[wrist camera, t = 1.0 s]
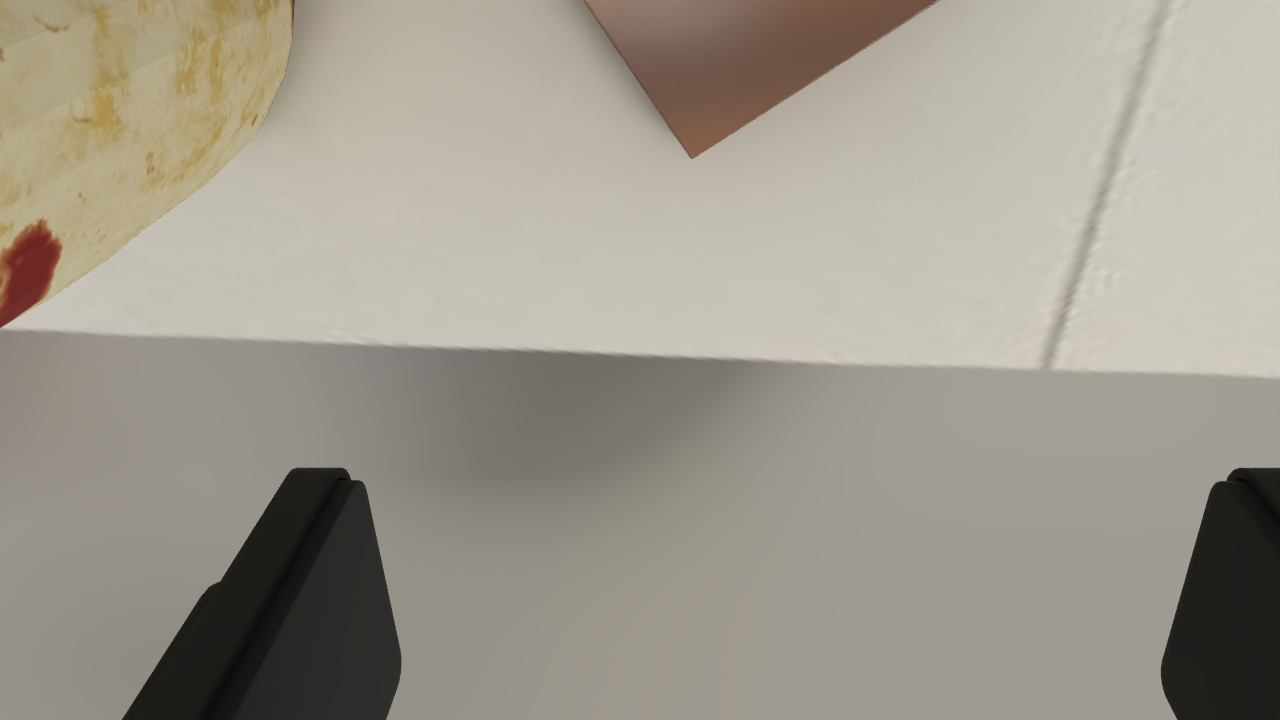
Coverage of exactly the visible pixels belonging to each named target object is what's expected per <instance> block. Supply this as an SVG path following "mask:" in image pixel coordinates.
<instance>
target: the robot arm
mask: <svg viewBox="0 0 1280 720" xmlns="http://www.w3.org/2000/svg"><path fill="white" fill-rule="evenodd" d="M400 674H401V652H400V647H399V642H398V637H397V632H396V627H395V623H394V618H393V613H392V608H391V604H390V599H389V594H388V589H387V585H386V580H385V575H384V571H383V566H382V561H381V557H380V552H379V547H378V542H377V537H376V533H375V528H374V523H373V519H372V514H371V509H370V504H369V500H368V495H367V491H366V487H365V485H364V483H363V482H362V481H359V480H355V481H354V480H351V478H350V475H349V473H348V472H347V470H345V469H343V468H295V469H292V470H291V471H290V472H289V473H288V475H287V476H286V478H285V479H284V481H283V483H282V484H281V486H280V487H279V489H278V491H277V492H276V494H275V495H274V497H273V498H272V500H271V502H270V503H269V505H268V506H267V508H266V510H265V511H264V513H263V515H262V516H261V518H260V519H259V521H258V522H257V524H256V526H255V527H254V529H253V530H252V532H251V534H250V535H249V537H248V538H247V540H246V541H245V543H244V545H243V546H242V548H241V549H240V551H239V553H238V554H237V556H236V557H235V559H234V561H233V562H232V564H231V565H230V567H229V568H228V570H227V572H226V573H225V575H224V577H223V578H222V580H221V581H220V582H218V583H216V584H214V585H212V586H210V587H209V588H208V589H207V590H206V591H205V593H204V594H203V595H202V596H201V598H200V599H199V600H198V602H197V604H196V605H195V607H194V608H193V610H192V611H191V613H190V615H189V616H188V618H187V619H186V621H185V622H184V624H183V625H182V627H181V629H180V630H179V632H178V633H177V635H176V636H175V638H174V639H173V641H172V643H171V644H170V646H169V647H168V649H167V650H166V652H165V653H164V655H163V657H162V658H161V660H160V661H159V663H158V664H157V666H156V668H155V669H154V671H153V672H152V674H151V675H150V677H149V679H148V680H147V682H146V683H145V685H144V686H143V688H142V690H141V691H140V692H139V694H138V696H137V697H136V699H135V700H134V702H133V704H132V705H131V707H130V708H129V710H128V711H127V713H126V714H125V716H124V717H123V719H122V720H386V718H387V715H388V713H389V710H390V707H391V704H392V701H393V698H394V696H395V693H396V690H397V687H398V684H399V680H400ZM1161 679H1162V686H1163V690H1164V693H1165V696H1166V698H1167V700H1168V702H1169V704H1170V706H1171V708H1172V710H1173V712H1174V714H1175V716H1176V718H1177V720H1280V468H1238V469H1235V470H1233V471H1232V472H1231V474H1230V475H1229V476H1228V478H1227V481H1224V482H1223V481H1221V482H1217V483H1215V485H1214V486H1213V487H1212V489H1211V491H1210V494H1209V498H1208V501H1207V504H1206V508H1205V511H1204V515H1203V518H1202V522H1201V525H1200V529H1199V533H1198V536H1197V539H1196V543H1195V547H1194V550H1193V554H1192V557H1191V561H1190V564H1189V568H1188V571H1187V575H1186V578H1185V582H1184V585H1183V589H1182V593H1181V596H1180V599H1179V603H1178V606H1177V610H1176V614H1175V617H1174V621H1173V624H1172V628H1171V631H1170V635H1169V638H1168V642H1167V646H1166V649H1165V653H1164V656H1163V660H1162V665H1161Z"/></svg>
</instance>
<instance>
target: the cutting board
mask: <svg viewBox="0 0 1280 720" xmlns="http://www.w3.org/2000/svg"><path fill="white" fill-rule="evenodd" d="M583 1H584V2H585V4H586V5H587V7H588V8H589V10H590V11H591V12H592V14H593V15H594V17H595V18H596V20H597V21H598V23H599V24H600V26H601V27H602V29H603V30H604V32H605V33H606V35H607V36H608V38H609V39H610V40H611V42H612V43H613V45H614V46H615V48H616V49H617V51H618V52H619V54H620V55H621V57H622V58H623V60H624V61H625V63H626V64H627V66H628V67H629V68H630V70H631V71H632V73H633V74H634V76H635V77H636V79H637V80H638V82H639V83H640V85H641V86H642V88H643V89H644V91H645V92H646V94H647V95H648V96H649V98H650V99H651V101H652V102H653V104H654V105H655V107H656V108H657V110H658V111H659V113H660V114H661V116H662V117H663V119H664V120H665V122H666V123H667V124H668V126H669V127H670V129H671V130H672V132H673V133H674V135H675V136H676V138H677V139H678V141H679V142H680V144H681V145H682V147H683V148H684V150H685V151H686V152H687V154H688V155H689V157H690V158H691V159H693V158H695V157H697V156H698V155H700V154H701V153H703V152H704V151H706V150H707V149H709V148H711V147H712V146H714V145H715V144H717V143H718V142H720V141H721V140H723V139H725V138H726V137H728V136H729V135H731V134H732V133H734V132H736V131H737V130H739V129H740V128H742V127H743V126H745V125H746V124H748V123H750V122H751V121H753V120H754V119H756V118H757V117H759V116H760V115H762V114H764V113H765V112H767V111H768V110H770V109H771V108H773V107H774V106H776V105H778V104H779V103H781V102H782V101H784V100H785V99H787V98H789V97H790V96H792V95H793V94H795V93H796V92H798V91H799V90H801V89H803V88H804V87H806V86H807V85H809V84H810V83H812V82H813V81H815V80H817V79H818V78H820V77H821V76H823V75H824V74H826V73H828V72H829V71H831V70H832V69H834V68H835V67H837V66H838V65H840V64H842V63H843V62H845V61H846V60H848V59H849V58H851V57H852V56H854V55H856V54H857V53H859V52H860V51H862V50H863V49H865V48H866V47H868V46H870V45H871V44H873V43H874V42H876V41H877V40H879V39H881V38H882V37H884V36H885V35H887V34H888V33H890V32H891V31H893V30H895V29H896V28H898V27H899V26H901V25H902V24H904V23H905V22H907V21H909V20H910V19H912V18H913V17H915V16H916V15H918V14H919V13H921V12H923V11H924V10H926V9H927V8H929V7H930V6H932V5H934V4H935V3H937V2H938V1H940V0H583Z"/></svg>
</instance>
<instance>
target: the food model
mask: <svg viewBox="0 0 1280 720" xmlns="http://www.w3.org/2000/svg"><path fill="white" fill-rule="evenodd" d="M293 20H294V0H0V328H1V327H3V326H4V325H6V324H8V323H9V322H11V321H12V320H14V319H16V318H17V317H19V316H21V315H23V314H24V313H26V312H28V311H29V310H31V309H33V308H34V307H36V306H38V305H40V304H41V303H43V302H45V301H46V300H48V299H50V298H51V297H53V296H54V295H56V294H57V293H59V292H60V291H62V290H63V289H65V288H66V287H68V286H69V285H71V284H72V283H74V282H75V281H77V280H78V279H80V278H81V277H83V276H84V275H86V274H87V273H89V272H90V271H91V270H93V269H94V268H96V267H97V266H98V265H100V264H101V263H103V262H104V261H105V260H107V259H108V258H110V257H111V256H112V255H114V254H115V253H116V252H117V251H119V250H120V249H121V248H122V247H124V246H125V245H126V244H127V243H128V242H130V241H131V240H132V239H133V238H135V237H136V236H137V235H138V234H139V233H141V232H142V231H143V230H145V229H146V228H147V227H148V226H150V225H151V224H152V223H154V222H155V221H156V220H157V219H159V218H160V217H161V216H162V215H164V214H165V213H167V212H168V211H170V210H171V209H173V208H174V207H175V206H177V205H178V204H180V203H181V202H183V201H184V200H185V199H187V198H188V197H189V196H191V195H192V194H193V193H195V192H196V191H197V190H199V189H200V188H201V187H202V186H204V185H205V184H206V183H207V182H208V181H209V180H210V179H211V178H212V177H213V176H214V175H216V174H217V173H218V172H219V171H220V170H221V169H222V168H223V167H224V166H225V165H226V164H227V163H228V162H229V161H230V160H232V159H233V158H234V157H235V156H236V155H237V154H238V153H239V152H240V150H241V149H242V148H243V147H244V146H245V145H246V144H248V143H249V142H250V141H251V140H252V139H253V138H254V137H255V135H256V134H257V132H258V131H259V129H260V128H261V126H262V124H263V122H264V120H265V118H266V115H267V113H268V111H269V109H270V107H271V104H272V102H273V100H274V98H275V96H276V93H277V91H278V89H279V87H280V84H281V82H282V80H283V78H284V75H285V71H286V66H287V62H288V57H289V52H290V48H291V43H292V38H293Z"/></svg>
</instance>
